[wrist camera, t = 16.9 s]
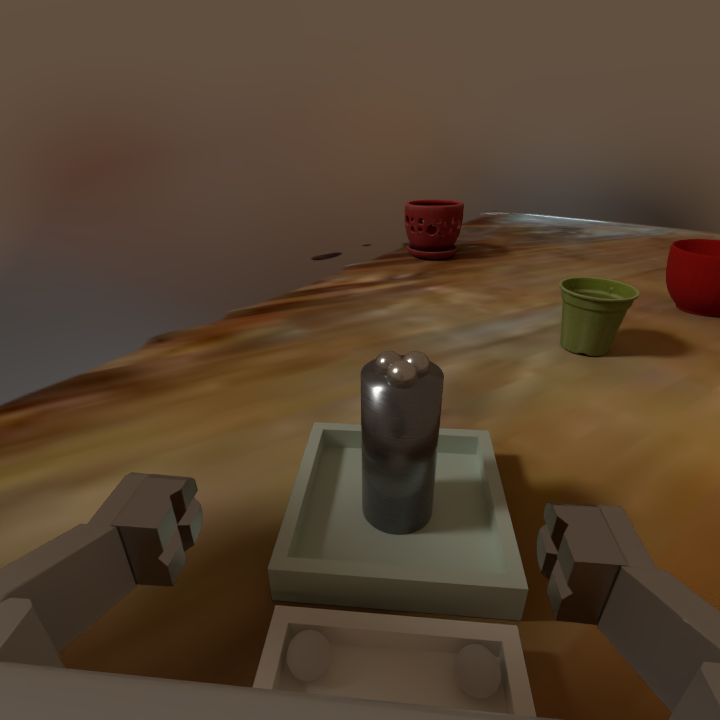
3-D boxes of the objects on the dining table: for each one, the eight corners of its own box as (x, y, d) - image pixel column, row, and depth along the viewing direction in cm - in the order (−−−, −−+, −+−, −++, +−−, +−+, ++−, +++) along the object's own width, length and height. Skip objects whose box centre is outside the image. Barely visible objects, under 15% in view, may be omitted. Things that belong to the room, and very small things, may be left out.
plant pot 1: (471, 255, 108) (476, 201, 102) (431, 265, 101) (434, 208, 95) (430, 245, 117) (433, 195, 111) (391, 253, 110) (393, 201, 104)
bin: (272, 600, 30) (267, 569, 29) (315, 448, 45) (314, 422, 43) (521, 620, 29) (528, 589, 28) (484, 456, 43) (488, 430, 42)
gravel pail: (358, 532, 34) (356, 373, 28) (365, 480, 39) (364, 336, 33) (433, 537, 34) (448, 377, 27) (431, 484, 38) (442, 338, 32)
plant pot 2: (584, 329, 69) (597, 273, 65) (638, 355, 61) (657, 293, 57) (533, 339, 66) (544, 281, 62) (583, 368, 58) (599, 303, 54)
